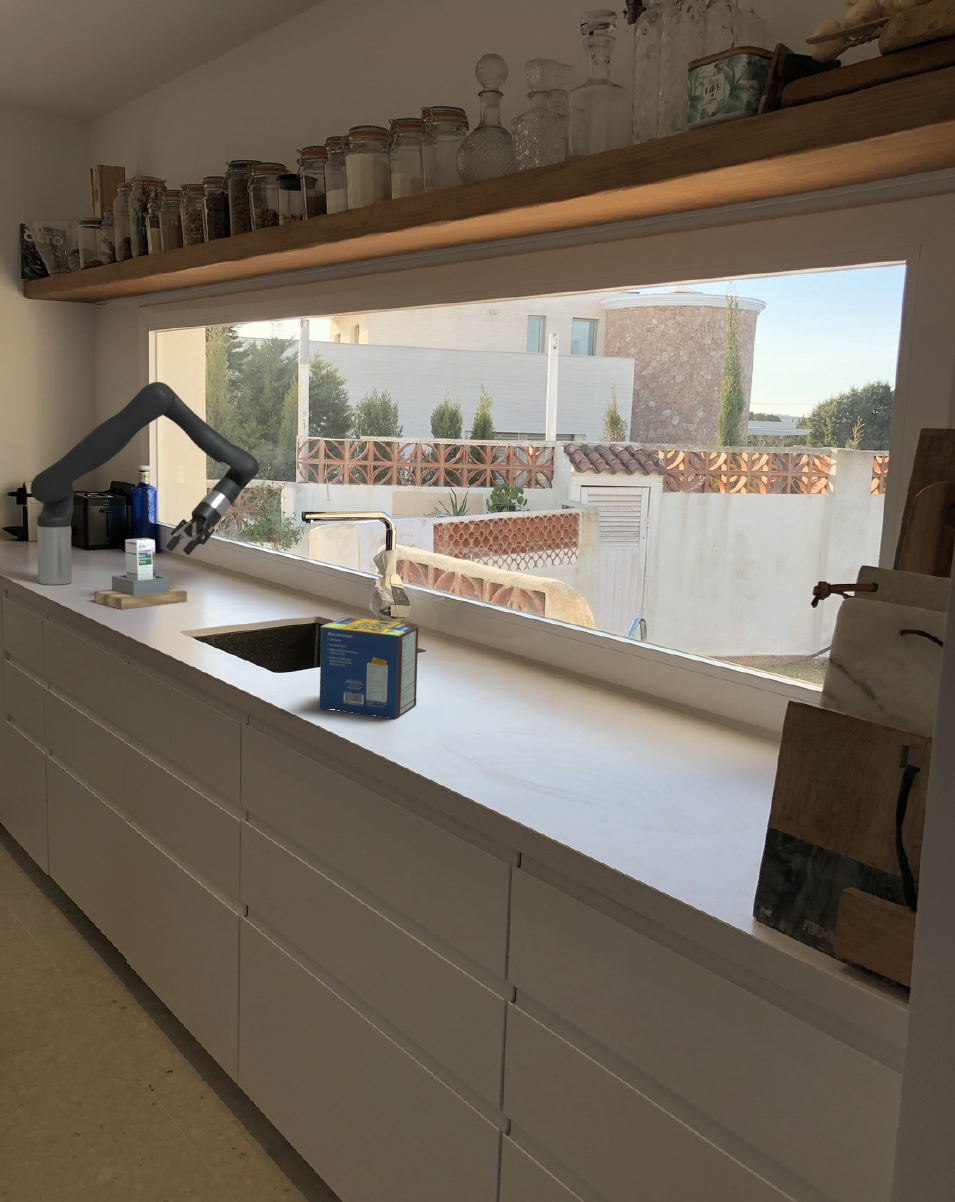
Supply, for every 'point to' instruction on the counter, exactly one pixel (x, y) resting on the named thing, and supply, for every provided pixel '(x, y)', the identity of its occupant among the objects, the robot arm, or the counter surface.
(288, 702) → the counter surface
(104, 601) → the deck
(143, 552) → the syrup box
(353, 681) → the protein box
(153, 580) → the grey square frame
